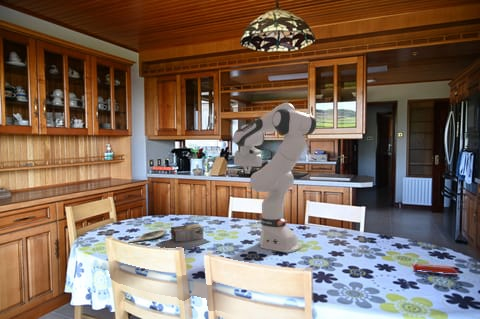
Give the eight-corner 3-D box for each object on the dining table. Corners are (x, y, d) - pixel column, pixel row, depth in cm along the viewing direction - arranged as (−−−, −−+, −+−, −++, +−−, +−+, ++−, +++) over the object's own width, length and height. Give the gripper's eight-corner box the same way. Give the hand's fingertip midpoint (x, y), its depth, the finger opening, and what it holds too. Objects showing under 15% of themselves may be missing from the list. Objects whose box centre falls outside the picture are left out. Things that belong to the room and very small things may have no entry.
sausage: (414, 272, 131) (414, 265, 130) (411, 269, 134) (412, 262, 134) (459, 276, 126) (459, 269, 126) (455, 273, 130) (455, 266, 130)
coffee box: (198, 234, 184) (170, 237, 178) (198, 223, 184) (170, 226, 177) (203, 238, 176) (174, 242, 169) (203, 227, 175) (174, 230, 169)
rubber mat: (210, 242, 171) (210, 241, 171) (176, 252, 155) (176, 252, 155) (188, 235, 183) (188, 234, 183) (155, 245, 167) (155, 244, 167)
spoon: (114, 255, 158) (113, 251, 158) (103, 250, 165) (103, 246, 165) (171, 234, 184) (171, 231, 184) (160, 231, 191) (160, 228, 191)
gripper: (231, 150, 201) (231, 172, 201) (256, 151, 187) (256, 174, 188) (238, 150, 205) (238, 171, 206) (263, 151, 192) (263, 173, 192)
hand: (247, 173), depth 197 cm, fingers closed
